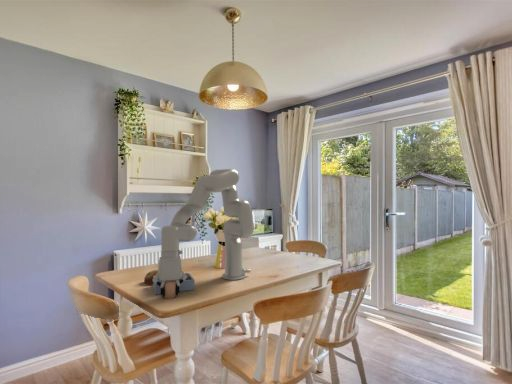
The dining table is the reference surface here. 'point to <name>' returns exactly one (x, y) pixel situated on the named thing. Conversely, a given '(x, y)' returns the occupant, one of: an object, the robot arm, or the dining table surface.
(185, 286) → the tote
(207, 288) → the dining table surface
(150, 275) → the bread roll
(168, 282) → the terracotta cylinder
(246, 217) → the robot arm
